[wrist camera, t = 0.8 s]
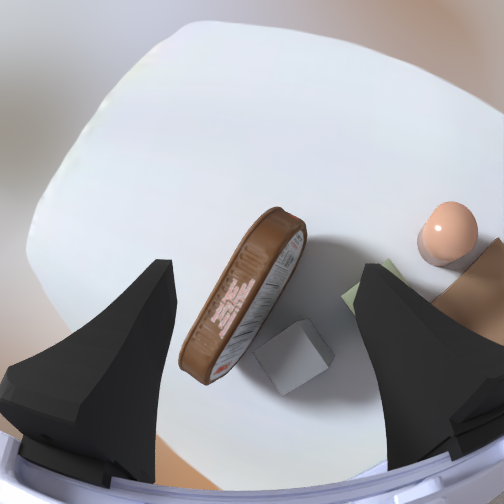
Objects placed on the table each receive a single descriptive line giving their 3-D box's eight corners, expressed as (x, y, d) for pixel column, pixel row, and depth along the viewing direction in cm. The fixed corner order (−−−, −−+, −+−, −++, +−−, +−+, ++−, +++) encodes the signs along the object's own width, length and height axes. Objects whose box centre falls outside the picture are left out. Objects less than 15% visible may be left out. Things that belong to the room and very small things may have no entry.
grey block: (334, 356, 24) (328, 367, 19) (296, 381, 24) (281, 396, 20) (308, 318, 25) (296, 321, 20) (271, 344, 26) (251, 351, 21)
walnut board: (540, 315, 17) (544, 315, 16) (477, 382, 18) (480, 384, 18) (495, 239, 20) (498, 237, 19) (429, 305, 21) (431, 304, 21)
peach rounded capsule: (466, 246, 21) (487, 233, 16) (436, 275, 22) (453, 268, 17) (439, 211, 22) (453, 191, 18) (408, 239, 23) (418, 223, 18)
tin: (290, 221, 27) (261, 186, 19) (320, 237, 26) (302, 206, 18) (210, 359, 27) (156, 374, 20) (236, 379, 26) (188, 402, 18)
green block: (409, 306, 22) (423, 306, 17) (371, 336, 23) (375, 345, 17) (382, 269, 24) (388, 258, 18) (345, 298, 24) (340, 296, 19)
